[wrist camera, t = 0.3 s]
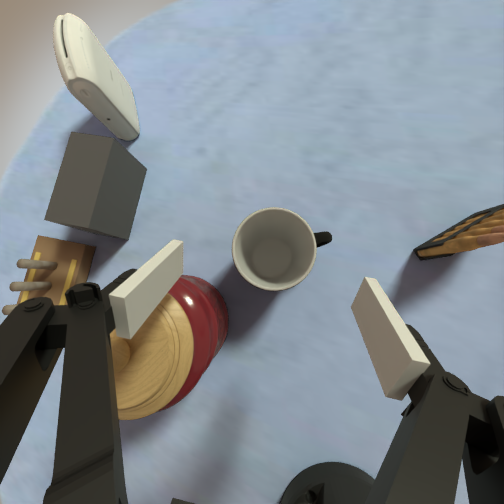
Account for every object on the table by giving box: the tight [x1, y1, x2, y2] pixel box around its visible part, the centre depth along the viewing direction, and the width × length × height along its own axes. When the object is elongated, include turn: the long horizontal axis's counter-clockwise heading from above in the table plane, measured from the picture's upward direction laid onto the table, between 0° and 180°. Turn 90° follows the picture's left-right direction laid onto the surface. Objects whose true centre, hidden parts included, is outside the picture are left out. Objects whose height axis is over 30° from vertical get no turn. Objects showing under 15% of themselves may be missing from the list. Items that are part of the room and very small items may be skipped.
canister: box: [110, 275, 229, 420], centre depth 24 cm, size 13×13×18 cm
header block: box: [2, 235, 96, 315], centre depth 32 cm, size 14×8×6 cm, turn 169°
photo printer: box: [53, 13, 140, 141], centre depth 32 cm, size 10×4×12 cm, turn 14°
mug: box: [232, 207, 332, 291], centre depth 28 cm, size 12×9×10 cm
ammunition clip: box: [414, 204, 504, 260], centre depth 26 cm, size 11×2×12 cm, turn 120°
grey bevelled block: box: [44, 132, 147, 240], centre depth 32 cm, size 12×6×8 cm, turn 169°
